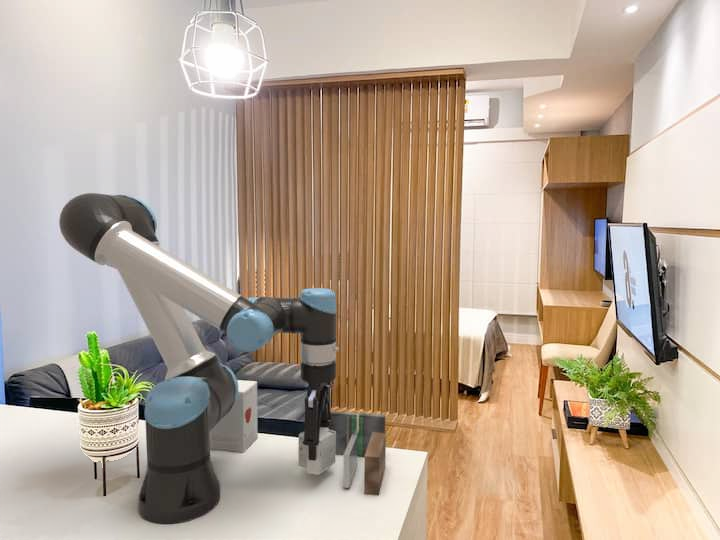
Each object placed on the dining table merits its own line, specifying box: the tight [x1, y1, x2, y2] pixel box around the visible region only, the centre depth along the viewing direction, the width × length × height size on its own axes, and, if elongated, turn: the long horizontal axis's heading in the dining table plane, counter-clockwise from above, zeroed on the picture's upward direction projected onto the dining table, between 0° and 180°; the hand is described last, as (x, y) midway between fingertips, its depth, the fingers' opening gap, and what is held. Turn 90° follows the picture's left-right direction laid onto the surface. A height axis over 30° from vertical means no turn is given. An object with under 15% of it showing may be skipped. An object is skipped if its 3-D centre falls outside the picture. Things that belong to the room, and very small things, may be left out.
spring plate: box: [343, 414, 360, 489], centre depth 113 cm, size 1×15×10 cm, turn 171°
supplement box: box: [210, 379, 258, 453], centre depth 127 cm, size 9×9×15 cm
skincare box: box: [297, 427, 336, 474], centre depth 112 cm, size 6×6×7 cm
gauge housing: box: [329, 410, 387, 496], centre depth 114 cm, size 14×18×10 cm
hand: (318, 463), depth 112 cm, fingers closed on skincare box, 7 cm apart
